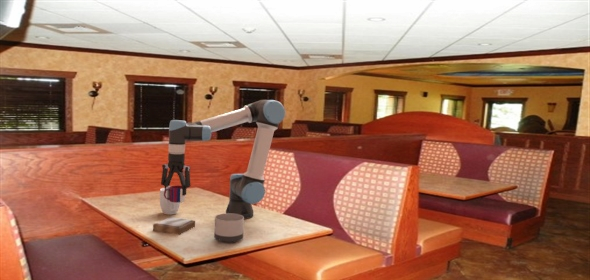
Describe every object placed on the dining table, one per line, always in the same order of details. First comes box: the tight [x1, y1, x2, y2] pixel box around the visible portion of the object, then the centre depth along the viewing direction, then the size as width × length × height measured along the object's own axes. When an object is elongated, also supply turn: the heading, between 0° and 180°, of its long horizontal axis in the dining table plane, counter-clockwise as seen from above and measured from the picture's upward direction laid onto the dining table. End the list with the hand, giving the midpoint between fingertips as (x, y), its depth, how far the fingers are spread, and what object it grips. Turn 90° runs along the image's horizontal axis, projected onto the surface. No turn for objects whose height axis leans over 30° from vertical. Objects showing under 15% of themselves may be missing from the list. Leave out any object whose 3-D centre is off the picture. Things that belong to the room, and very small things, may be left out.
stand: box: [152, 216, 196, 236], centre depth 202 cm, size 14×14×4 cm
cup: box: [164, 185, 182, 203], centre depth 201 cm, size 7×10×7 cm
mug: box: [159, 187, 181, 216], centre depth 227 cm, size 15×11×13 cm
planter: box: [213, 212, 245, 244], centre depth 190 cm, size 13×13×10 cm
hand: (175, 200), depth 201 cm, fingers closed on cup, 7 cm apart
